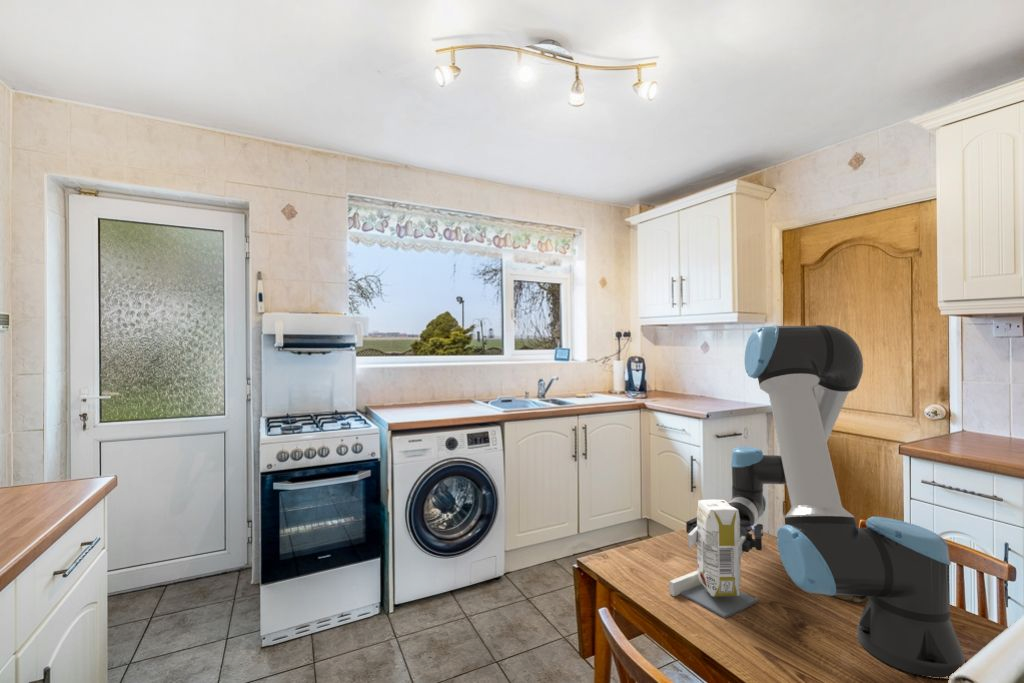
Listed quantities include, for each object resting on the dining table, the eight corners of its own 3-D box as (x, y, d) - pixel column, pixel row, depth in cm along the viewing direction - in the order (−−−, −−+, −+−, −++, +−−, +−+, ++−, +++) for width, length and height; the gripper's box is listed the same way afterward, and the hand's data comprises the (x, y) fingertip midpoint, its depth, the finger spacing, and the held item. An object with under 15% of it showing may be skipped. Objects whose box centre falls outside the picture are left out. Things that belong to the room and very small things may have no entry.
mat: (758, 601, 104) (758, 599, 104) (724, 618, 98) (724, 616, 98) (714, 581, 114) (714, 578, 114) (681, 594, 108) (681, 592, 108)
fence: (718, 578, 115) (717, 565, 115) (673, 596, 107) (673, 583, 107) (713, 576, 116) (713, 563, 116) (669, 594, 108) (669, 581, 108)
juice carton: (710, 599, 102) (709, 511, 102) (694, 579, 110) (693, 498, 111) (745, 598, 102) (743, 510, 102) (726, 578, 111) (725, 497, 111)
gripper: (787, 542, 113) (768, 579, 96) (694, 521, 127) (663, 550, 109) (786, 510, 113) (767, 542, 96) (694, 493, 127) (663, 518, 110)
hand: (712, 546), depth 103 cm, fingers closed on juice carton, 9 cm apart
